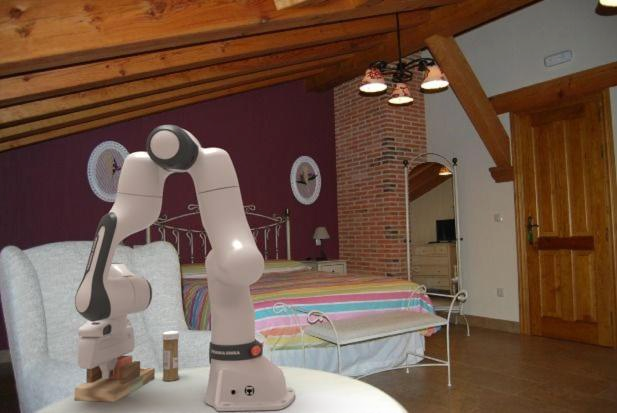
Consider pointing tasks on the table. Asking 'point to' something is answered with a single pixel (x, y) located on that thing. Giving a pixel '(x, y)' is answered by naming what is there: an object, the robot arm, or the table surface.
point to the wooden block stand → (113, 383)
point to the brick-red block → (121, 365)
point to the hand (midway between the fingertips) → (108, 377)
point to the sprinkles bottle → (170, 355)
